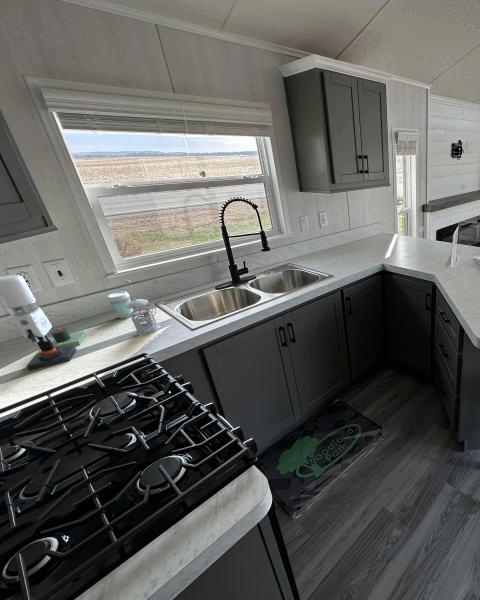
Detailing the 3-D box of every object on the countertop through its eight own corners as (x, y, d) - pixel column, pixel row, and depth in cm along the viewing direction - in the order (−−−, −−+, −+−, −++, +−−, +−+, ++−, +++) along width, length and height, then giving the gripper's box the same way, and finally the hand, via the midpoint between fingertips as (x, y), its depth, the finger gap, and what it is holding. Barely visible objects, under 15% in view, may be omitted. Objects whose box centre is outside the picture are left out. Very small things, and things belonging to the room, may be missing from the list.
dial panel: (42, 353, 136) (40, 349, 135) (51, 342, 143) (49, 338, 143) (80, 345, 141) (77, 340, 140) (86, 334, 149) (84, 330, 148)
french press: (129, 335, 147) (106, 283, 136) (151, 322, 157) (131, 274, 147) (147, 336, 145) (126, 284, 135) (168, 323, 156) (150, 274, 145)
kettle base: (29, 370, 125) (23, 362, 123) (38, 358, 132) (33, 350, 130) (70, 360, 130) (65, 352, 128) (76, 350, 137) (72, 341, 135)
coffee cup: (140, 313, 166) (131, 292, 161) (122, 321, 159) (112, 299, 154) (131, 310, 170) (122, 289, 165) (112, 318, 163) (102, 296, 158)
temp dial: (69, 340, 140) (63, 330, 138) (54, 343, 138) (48, 334, 136) (72, 335, 144) (67, 326, 142) (57, 338, 142) (52, 329, 140)
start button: (41, 357, 127) (39, 353, 126) (45, 352, 130) (43, 348, 130) (55, 354, 129) (53, 350, 128) (58, 349, 132) (56, 345, 131)
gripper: (29, 313, 117) (54, 356, 125) (45, 298, 129) (67, 338, 136) (0, 319, 113) (27, 362, 121) (19, 303, 125) (42, 343, 133)
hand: (48, 349), depth 129 cm, fingers closed
